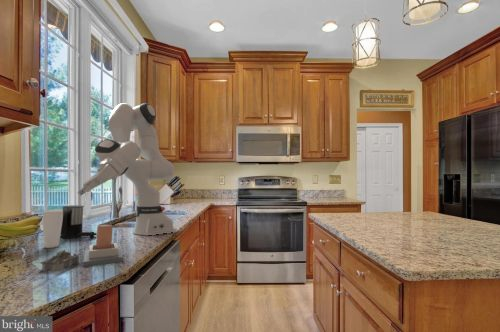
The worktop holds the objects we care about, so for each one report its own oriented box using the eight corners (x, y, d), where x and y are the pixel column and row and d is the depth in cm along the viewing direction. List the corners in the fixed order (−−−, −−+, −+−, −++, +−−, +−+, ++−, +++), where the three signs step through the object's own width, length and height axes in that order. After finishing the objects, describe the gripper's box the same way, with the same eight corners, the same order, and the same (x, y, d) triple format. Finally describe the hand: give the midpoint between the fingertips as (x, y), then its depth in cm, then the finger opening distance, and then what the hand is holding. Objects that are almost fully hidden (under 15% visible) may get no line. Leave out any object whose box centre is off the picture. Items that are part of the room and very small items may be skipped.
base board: (119, 250, 109) (120, 240, 109) (122, 261, 95) (123, 250, 95) (85, 253, 103) (85, 243, 103) (83, 266, 89) (83, 254, 89)
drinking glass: (50, 249, 108) (52, 212, 108) (36, 248, 109) (38, 211, 110) (65, 245, 114) (67, 210, 115) (52, 244, 116) (54, 209, 116)
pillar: (106, 250, 103) (108, 224, 103) (113, 253, 100) (115, 226, 100) (92, 253, 98) (94, 226, 99) (99, 256, 96) (101, 228, 96)
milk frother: (62, 235, 133) (64, 205, 134) (98, 233, 139) (100, 204, 140) (55, 241, 120) (56, 208, 121) (95, 239, 126) (96, 207, 127)
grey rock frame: (64, 260, 95) (65, 249, 96) (83, 262, 94) (84, 250, 94) (36, 271, 85) (37, 257, 85) (57, 272, 84) (57, 259, 84)
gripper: (96, 169, 118) (69, 190, 110) (112, 158, 105) (83, 182, 96) (107, 179, 121) (81, 201, 112) (124, 170, 107) (97, 194, 98)
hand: (82, 192), depth 104 cm, fingers open, 8 cm apart
